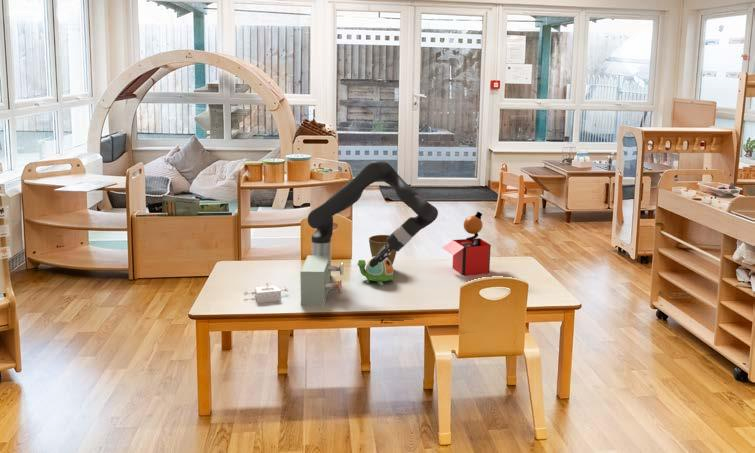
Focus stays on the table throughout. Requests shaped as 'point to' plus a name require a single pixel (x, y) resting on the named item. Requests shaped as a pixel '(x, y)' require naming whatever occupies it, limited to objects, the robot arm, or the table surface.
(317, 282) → the console
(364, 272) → the turtle holder
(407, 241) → the robot arm
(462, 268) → the jack-in-the-box
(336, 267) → the plunger cream
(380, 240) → the plant pot
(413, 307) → the table surface
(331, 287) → the plunger terracotta
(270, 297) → the cartoon character
